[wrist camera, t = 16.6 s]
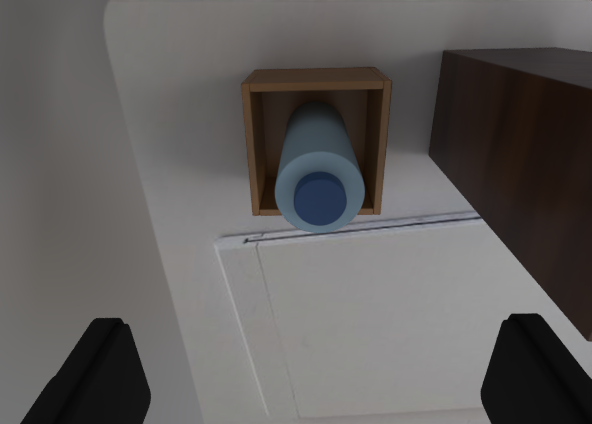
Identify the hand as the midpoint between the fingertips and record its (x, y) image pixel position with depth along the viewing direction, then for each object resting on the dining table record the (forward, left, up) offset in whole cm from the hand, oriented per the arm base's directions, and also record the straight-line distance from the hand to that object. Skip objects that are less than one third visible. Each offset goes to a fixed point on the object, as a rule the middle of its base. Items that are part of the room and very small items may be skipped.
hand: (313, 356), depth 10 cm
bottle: (+1, 0, -23) cm, 23 cm away
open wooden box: (0, 0, -23) cm, 23 cm away
